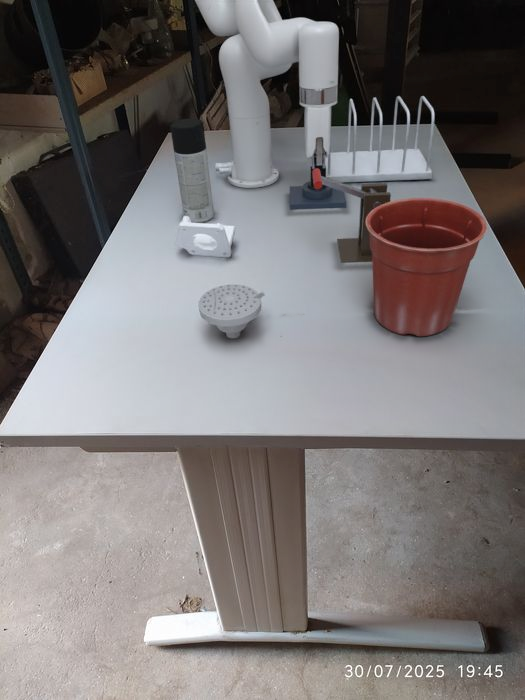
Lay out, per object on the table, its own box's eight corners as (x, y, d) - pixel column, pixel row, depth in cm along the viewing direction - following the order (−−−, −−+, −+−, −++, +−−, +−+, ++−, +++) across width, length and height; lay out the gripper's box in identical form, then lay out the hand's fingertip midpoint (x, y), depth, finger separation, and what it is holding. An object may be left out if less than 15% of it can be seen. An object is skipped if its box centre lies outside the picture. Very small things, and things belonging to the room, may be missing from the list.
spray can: (219, 213, 120) (209, 118, 107) (204, 226, 115) (192, 129, 103) (194, 209, 122) (181, 116, 110) (178, 221, 117) (162, 126, 105)
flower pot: (352, 339, 82) (358, 244, 72) (365, 283, 94) (372, 194, 84) (466, 353, 78) (489, 254, 68) (465, 292, 90) (484, 200, 80)
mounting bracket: (176, 259, 108) (159, 224, 99) (184, 234, 111) (168, 197, 101) (233, 264, 105) (222, 228, 96) (240, 238, 108) (229, 201, 99)
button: (309, 196, 118) (309, 188, 117) (308, 189, 121) (308, 182, 120) (325, 195, 118) (325, 187, 117) (324, 188, 121) (324, 181, 120)
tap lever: (311, 190, 91) (316, 177, 90) (310, 177, 96) (315, 164, 94) (381, 214, 94) (388, 202, 92) (377, 200, 98) (383, 188, 97)
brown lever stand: (340, 267, 99) (343, 201, 91) (336, 244, 106) (339, 180, 98) (407, 265, 98) (415, 198, 90) (398, 242, 105) (406, 177, 97)
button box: (290, 214, 117) (289, 196, 115) (289, 195, 125) (289, 178, 123) (345, 211, 117) (346, 194, 114) (341, 193, 125) (342, 176, 122)
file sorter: (418, 155, 141) (426, 91, 131) (431, 181, 127) (441, 111, 118) (321, 159, 143) (322, 96, 133) (324, 184, 129) (326, 116, 119)
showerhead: (267, 309, 76) (197, 316, 76) (269, 349, 81) (203, 356, 81) (261, 275, 84) (197, 281, 83) (264, 314, 88) (203, 319, 88)
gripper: (298, 87, 113) (300, 173, 124) (300, 106, 101) (301, 199, 112) (334, 85, 112) (333, 172, 124) (340, 104, 101) (338, 198, 112)
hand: (318, 185), depth 118 cm, fingers closed
